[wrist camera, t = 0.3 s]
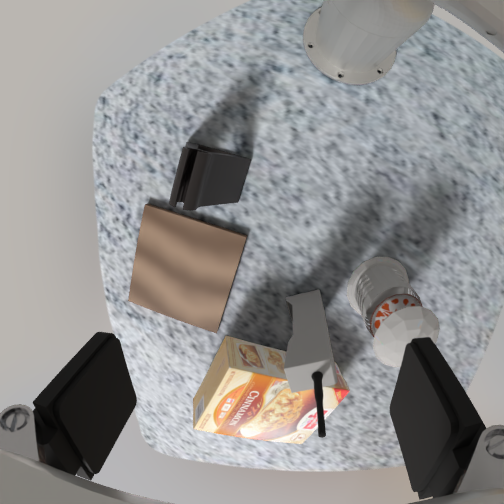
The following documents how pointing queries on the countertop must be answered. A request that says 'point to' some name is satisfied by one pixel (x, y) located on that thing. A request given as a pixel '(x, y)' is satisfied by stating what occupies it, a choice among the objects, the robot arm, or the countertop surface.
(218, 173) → the phone stand
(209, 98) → the countertop surface
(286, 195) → the countertop surface
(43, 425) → the robot arm
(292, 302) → the vintage mobile phone
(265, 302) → the countertop surface
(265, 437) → the coffeecake box
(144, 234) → the walnut board
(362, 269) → the french press
